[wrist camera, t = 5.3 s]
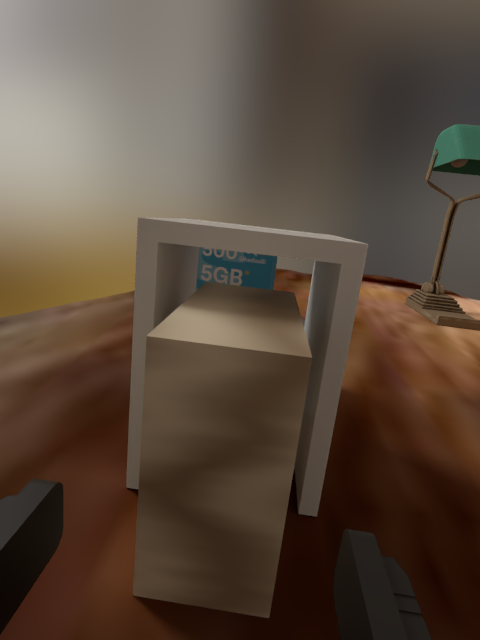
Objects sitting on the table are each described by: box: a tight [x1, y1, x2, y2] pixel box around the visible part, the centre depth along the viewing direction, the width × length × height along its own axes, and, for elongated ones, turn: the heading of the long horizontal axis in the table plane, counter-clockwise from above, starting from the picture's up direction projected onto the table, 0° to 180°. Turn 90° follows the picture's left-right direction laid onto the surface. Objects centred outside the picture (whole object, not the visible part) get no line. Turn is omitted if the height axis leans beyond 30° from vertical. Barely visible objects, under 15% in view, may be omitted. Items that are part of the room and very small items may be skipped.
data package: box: [196, 247, 277, 291], centre depth 64 cm, size 12×4×12 cm, turn 75°
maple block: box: [133, 282, 312, 618], centre depth 20 cm, size 6×12×11 cm, turn 175°
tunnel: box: [126, 218, 368, 517], centre depth 25 cm, size 10×11×14 cm
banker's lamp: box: [405, 124, 480, 330], centre depth 76 cm, size 16×21×35 cm
